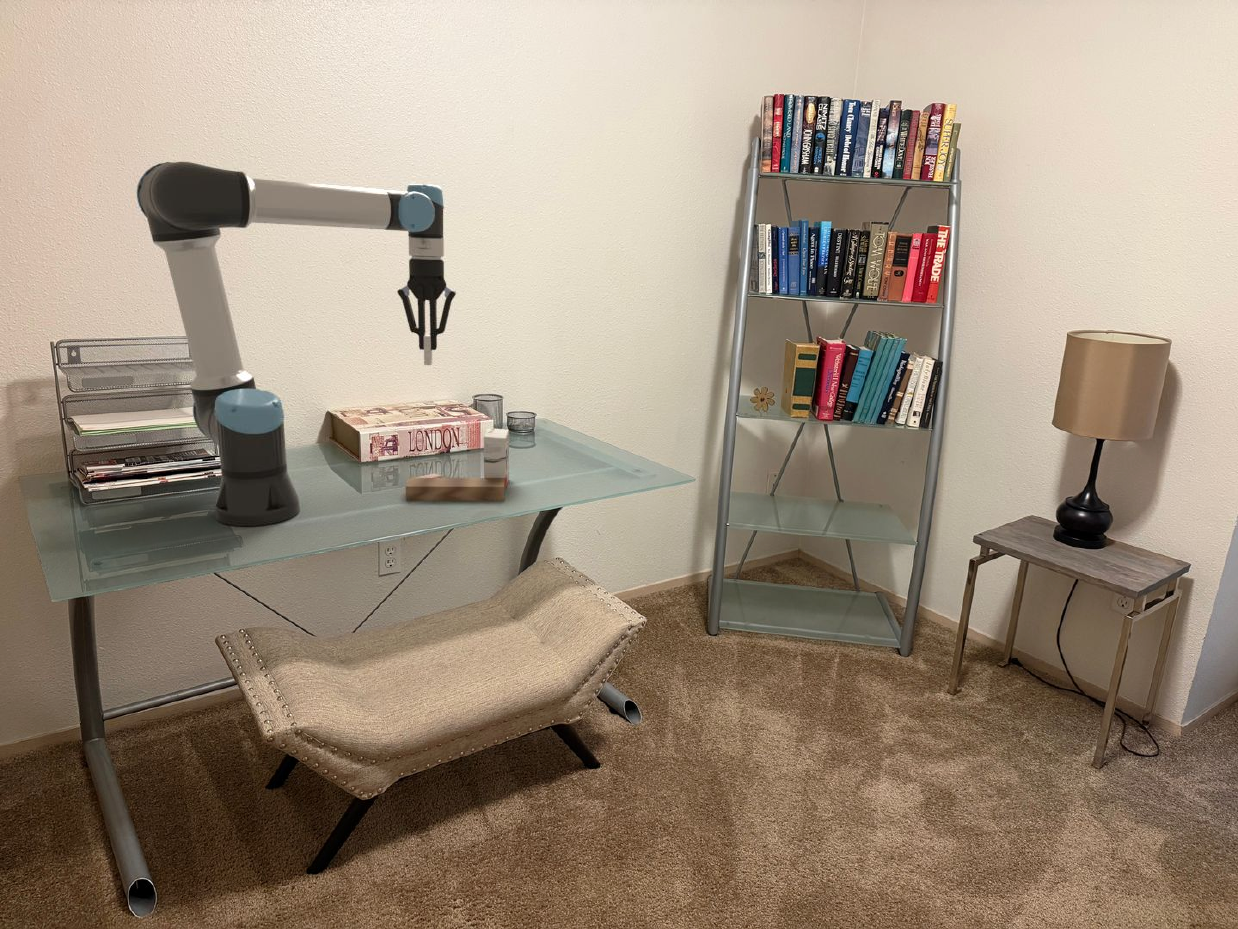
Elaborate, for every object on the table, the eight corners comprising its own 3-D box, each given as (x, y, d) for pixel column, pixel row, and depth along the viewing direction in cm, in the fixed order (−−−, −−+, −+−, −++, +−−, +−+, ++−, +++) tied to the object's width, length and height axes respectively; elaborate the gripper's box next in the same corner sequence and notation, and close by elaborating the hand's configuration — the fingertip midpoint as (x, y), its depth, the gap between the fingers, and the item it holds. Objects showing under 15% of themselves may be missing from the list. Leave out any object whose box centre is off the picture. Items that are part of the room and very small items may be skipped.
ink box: (506, 490, 187) (506, 437, 183) (483, 490, 186) (482, 437, 183) (509, 478, 195) (509, 428, 192) (487, 478, 195) (487, 427, 191)
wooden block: (405, 500, 178) (405, 486, 177) (409, 491, 184) (409, 477, 183) (503, 500, 180) (503, 486, 179) (504, 491, 186) (504, 478, 185)
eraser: (419, 489, 186) (419, 481, 186) (412, 487, 188) (411, 478, 187) (441, 484, 191) (441, 475, 190) (434, 481, 192) (434, 473, 192)
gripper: (393, 257, 186) (396, 365, 193) (454, 259, 188) (455, 367, 194) (399, 255, 194) (401, 360, 200) (458, 258, 195) (458, 362, 201)
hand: (428, 363), depth 197 cm, fingers closed
